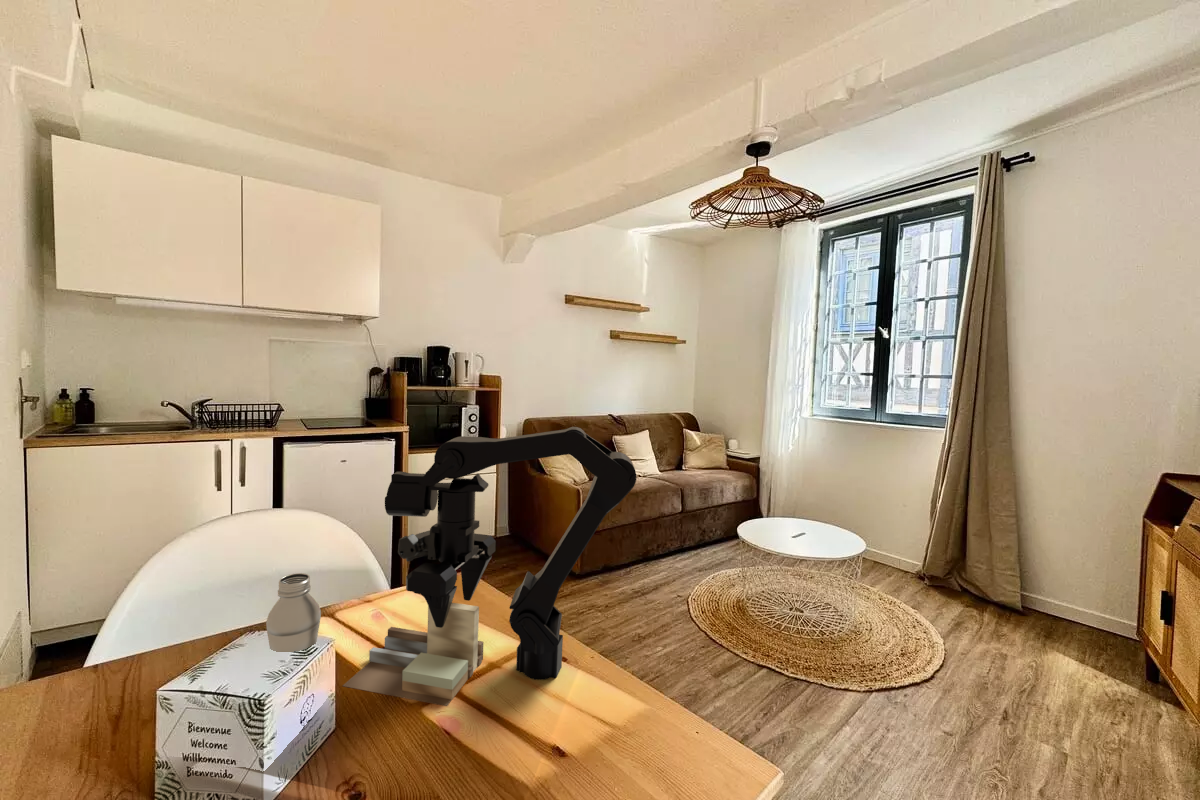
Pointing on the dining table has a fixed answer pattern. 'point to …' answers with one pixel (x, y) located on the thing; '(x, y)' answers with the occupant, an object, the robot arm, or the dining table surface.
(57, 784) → the dining table surface
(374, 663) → the walnut rack
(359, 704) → the dining table surface
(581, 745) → the dining table surface
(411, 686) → the oak offcut
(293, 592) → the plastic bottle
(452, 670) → the sage offcut
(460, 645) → the birch sheet
